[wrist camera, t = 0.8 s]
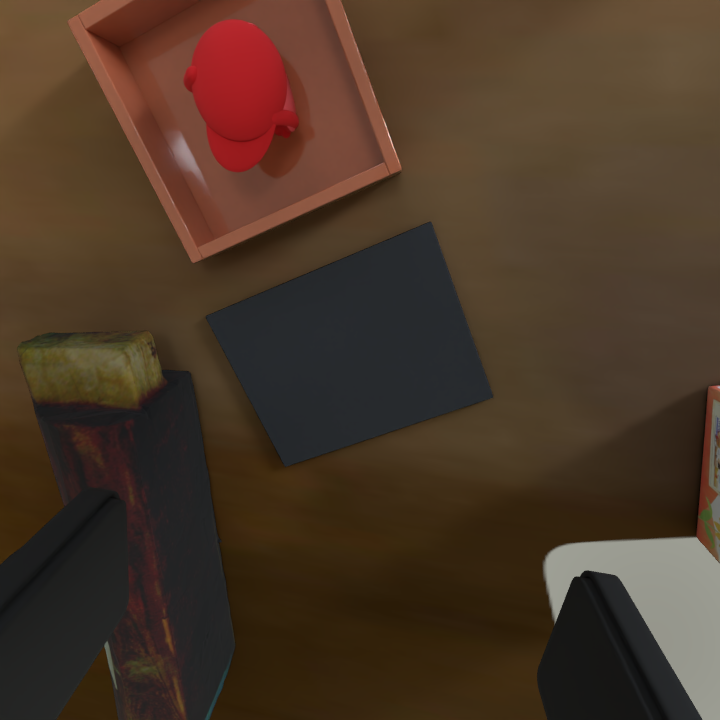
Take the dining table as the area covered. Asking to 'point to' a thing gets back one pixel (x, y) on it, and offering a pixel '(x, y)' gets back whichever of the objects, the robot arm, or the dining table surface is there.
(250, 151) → the cap
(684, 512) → the dining table surface
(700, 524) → the cracker box
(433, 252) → the mat
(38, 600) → the robot arm
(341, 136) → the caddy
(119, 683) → the packaged item
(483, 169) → the dining table surface
